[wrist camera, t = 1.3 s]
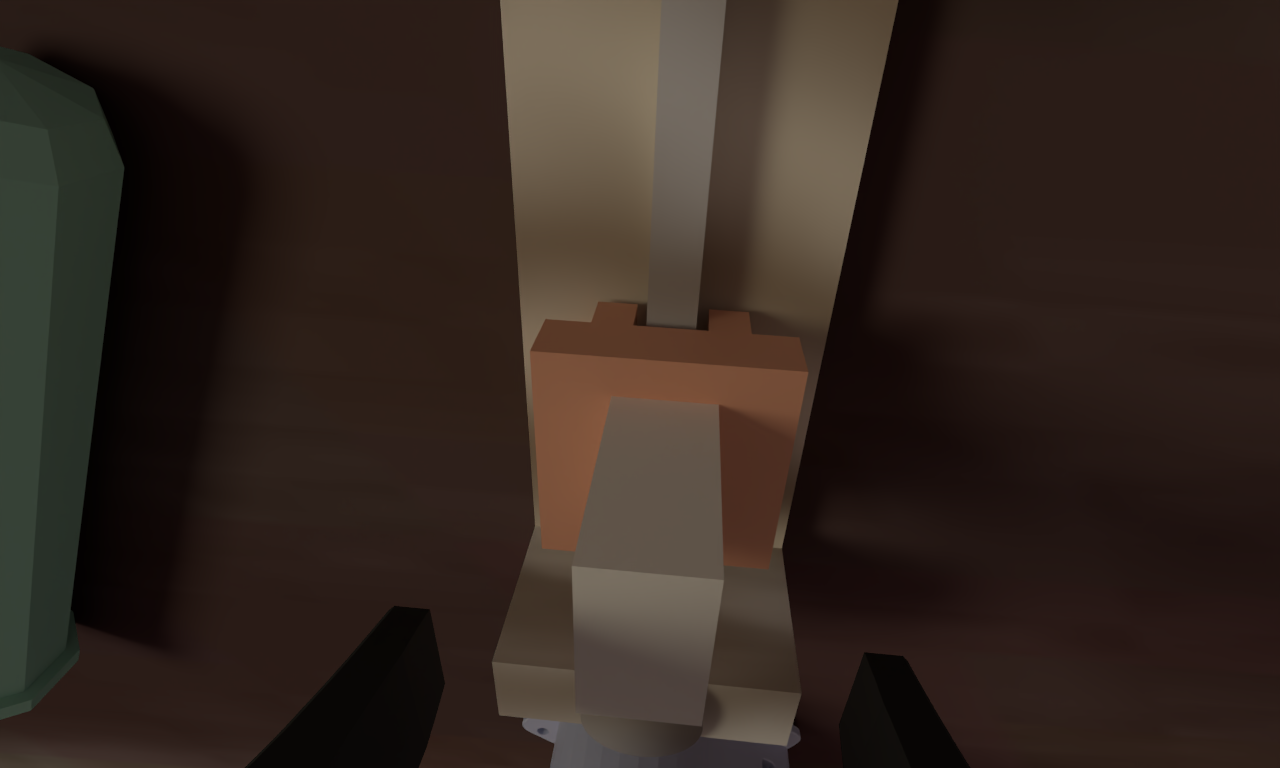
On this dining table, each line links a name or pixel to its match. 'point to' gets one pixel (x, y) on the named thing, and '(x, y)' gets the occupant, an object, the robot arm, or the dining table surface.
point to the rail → (682, 263)
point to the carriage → (658, 490)
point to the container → (48, 355)
